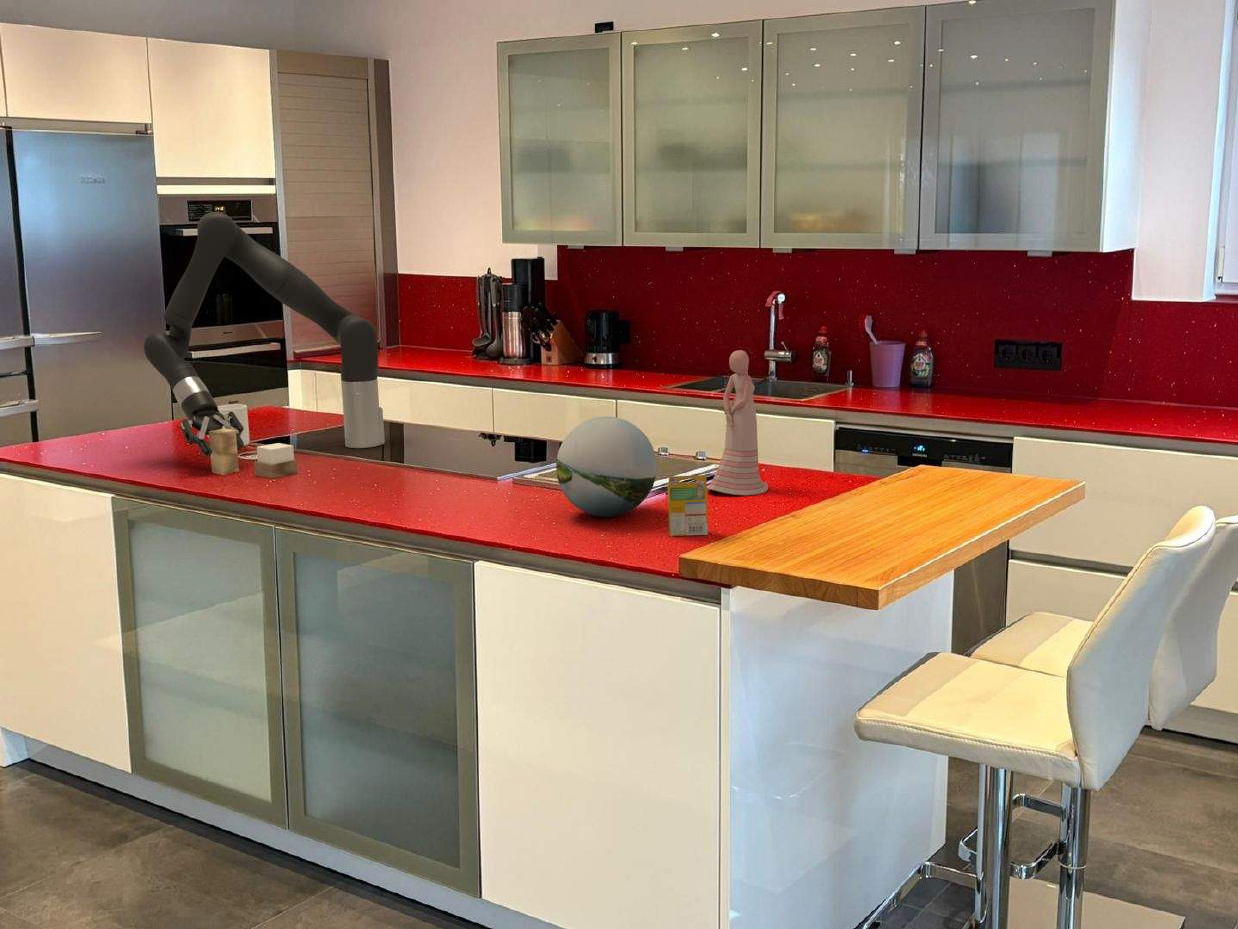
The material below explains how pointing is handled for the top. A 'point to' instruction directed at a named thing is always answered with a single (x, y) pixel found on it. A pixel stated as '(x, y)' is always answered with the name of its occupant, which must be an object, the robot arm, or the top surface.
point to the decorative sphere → (606, 466)
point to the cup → (241, 415)
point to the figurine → (739, 436)
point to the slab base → (275, 469)
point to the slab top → (275, 453)
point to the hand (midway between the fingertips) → (225, 451)
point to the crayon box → (687, 506)
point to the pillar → (223, 451)
